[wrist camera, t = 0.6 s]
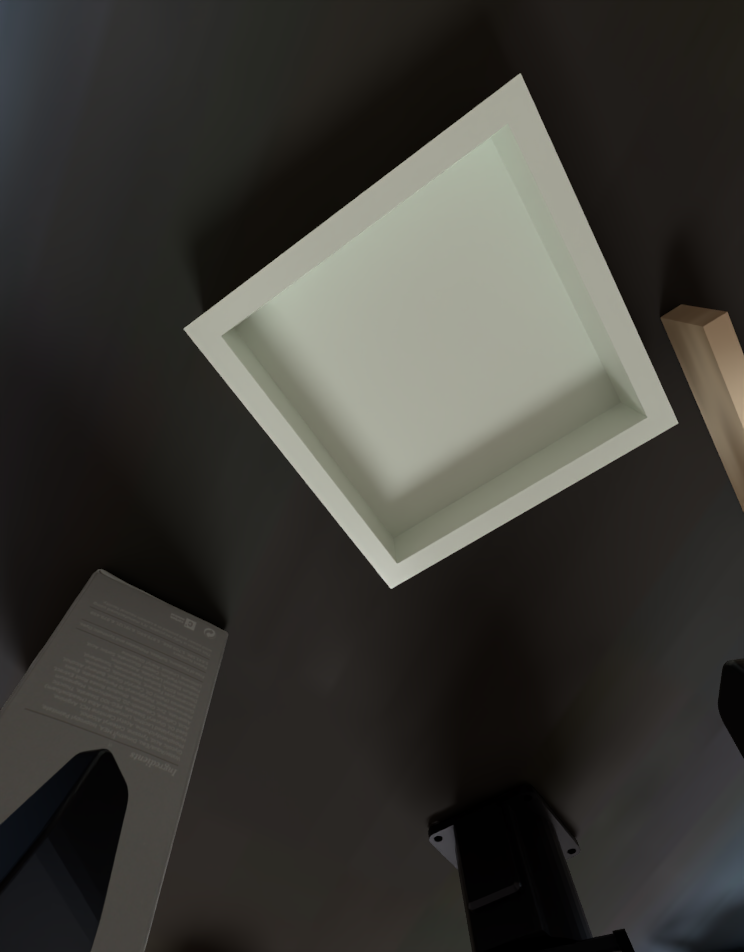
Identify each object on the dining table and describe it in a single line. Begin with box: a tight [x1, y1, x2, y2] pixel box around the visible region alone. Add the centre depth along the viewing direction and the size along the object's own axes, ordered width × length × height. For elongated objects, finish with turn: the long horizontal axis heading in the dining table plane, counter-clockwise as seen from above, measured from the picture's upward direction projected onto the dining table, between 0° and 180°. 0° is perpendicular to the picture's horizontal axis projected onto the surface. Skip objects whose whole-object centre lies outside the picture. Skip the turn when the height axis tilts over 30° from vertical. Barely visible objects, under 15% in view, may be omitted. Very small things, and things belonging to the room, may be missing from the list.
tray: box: [184, 73, 678, 589], centre depth 18 cm, size 12×12×2 cm
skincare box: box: [0, 569, 228, 952], centre depth 17 cm, size 8×7×16 cm
